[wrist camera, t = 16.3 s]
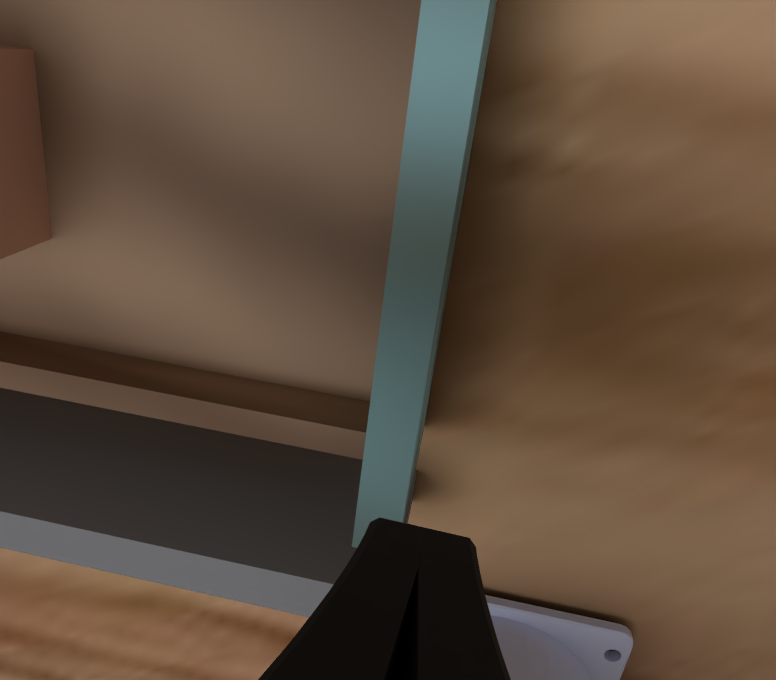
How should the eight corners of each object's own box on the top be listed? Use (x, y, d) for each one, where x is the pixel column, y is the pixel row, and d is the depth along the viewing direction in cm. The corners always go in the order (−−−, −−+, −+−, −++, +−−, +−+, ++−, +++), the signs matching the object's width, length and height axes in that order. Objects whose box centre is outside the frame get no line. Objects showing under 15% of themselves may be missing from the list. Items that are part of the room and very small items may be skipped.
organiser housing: (411, 501, 20) (385, 633, 15) (-150, 387, 22) (-323, 475, 17) (545, -277, 12) (571, -477, 8) (-344, -352, 14) (-751, -548, 9)
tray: (422, 433, 18) (396, 556, 14) (-116, 329, 20) (-296, 409, 15) (515, -109, 13) (523, -199, 8) (-234, -191, 15) (-564, -303, 10)
